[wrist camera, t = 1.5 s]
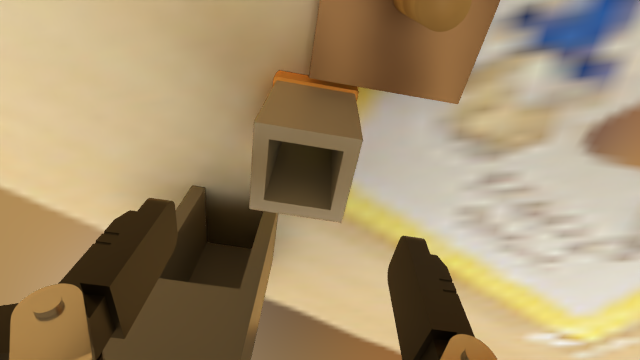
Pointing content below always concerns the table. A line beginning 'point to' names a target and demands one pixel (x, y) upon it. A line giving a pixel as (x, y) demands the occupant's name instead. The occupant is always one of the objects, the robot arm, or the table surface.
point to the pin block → (401, 44)
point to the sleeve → (305, 148)
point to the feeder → (202, 295)
